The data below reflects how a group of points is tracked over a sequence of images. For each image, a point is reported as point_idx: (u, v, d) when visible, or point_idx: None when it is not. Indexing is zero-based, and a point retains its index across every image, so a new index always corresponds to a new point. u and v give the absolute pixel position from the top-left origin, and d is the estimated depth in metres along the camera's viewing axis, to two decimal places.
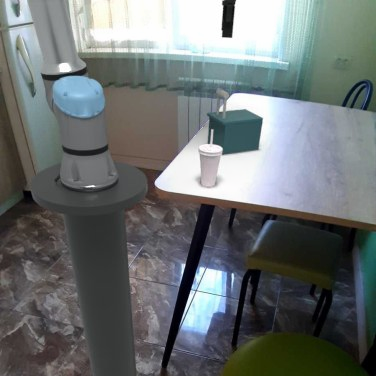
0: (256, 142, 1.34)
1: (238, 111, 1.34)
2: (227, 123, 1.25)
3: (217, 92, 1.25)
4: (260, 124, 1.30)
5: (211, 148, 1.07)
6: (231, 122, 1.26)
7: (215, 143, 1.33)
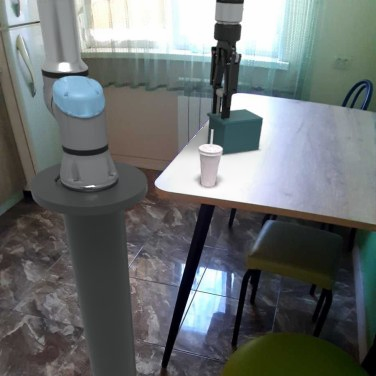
0: (256, 142, 1.34)
1: (238, 111, 1.34)
2: (227, 123, 1.25)
3: (217, 92, 1.25)
4: (260, 124, 1.30)
5: (211, 148, 1.07)
6: (231, 122, 1.26)
7: (215, 143, 1.33)
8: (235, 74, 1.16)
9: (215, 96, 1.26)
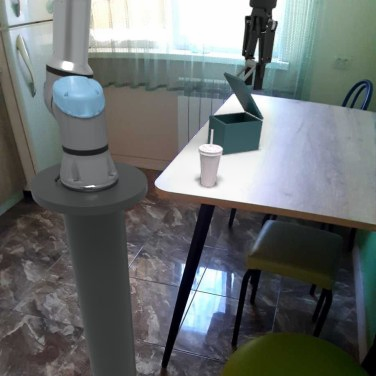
0: (256, 142, 1.34)
1: None
2: (244, 85, 1.20)
3: (248, 60, 1.23)
4: (260, 124, 1.30)
5: (211, 148, 1.07)
6: (246, 88, 1.21)
7: (215, 143, 1.33)
8: (270, 42, 1.15)
9: (247, 67, 1.25)
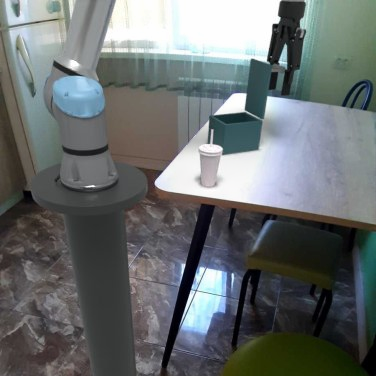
0: (256, 142, 1.34)
1: None
2: (270, 71, 1.21)
3: (276, 64, 1.27)
4: (260, 124, 1.30)
5: (211, 148, 1.07)
6: (269, 77, 1.22)
7: (215, 143, 1.33)
8: (299, 50, 1.19)
9: (272, 72, 1.30)
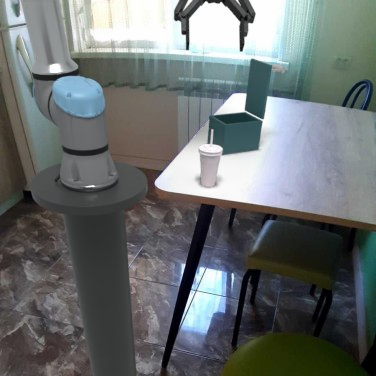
0: (256, 142, 1.34)
1: None
2: (270, 71, 1.21)
3: (276, 64, 1.27)
4: (260, 124, 1.30)
5: (211, 148, 1.07)
6: (269, 77, 1.22)
7: (215, 143, 1.33)
8: None
9: None
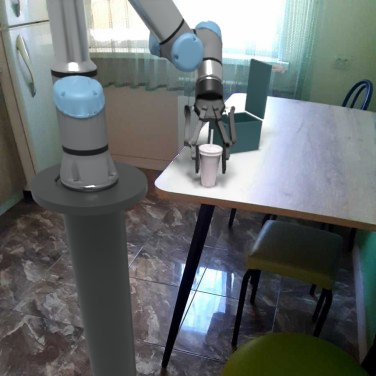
0: (256, 142, 1.34)
1: None
2: (270, 71, 1.21)
3: (276, 64, 1.27)
4: (260, 124, 1.30)
5: (211, 148, 1.07)
6: (269, 77, 1.22)
7: (215, 143, 1.33)
8: None
9: (198, 151, 1.07)
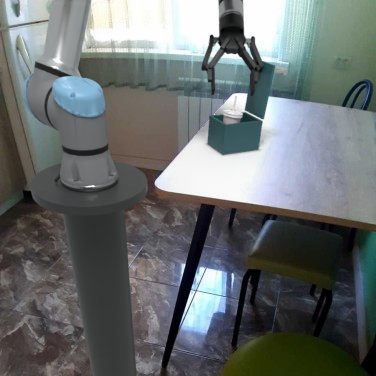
0: (256, 142, 1.34)
1: None
2: (273, 71, 1.21)
3: (278, 66, 1.28)
4: (260, 124, 1.30)
5: (234, 112, 1.29)
6: (272, 77, 1.22)
7: (215, 143, 1.33)
8: None
9: (214, 74, 1.22)
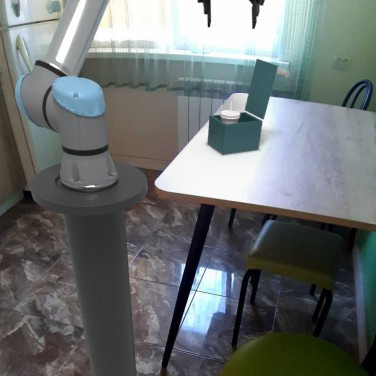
0: (256, 142, 1.34)
1: None
2: (275, 71, 1.21)
3: (280, 68, 1.29)
4: (260, 124, 1.30)
5: (231, 113, 1.28)
6: (274, 77, 1.22)
7: (215, 143, 1.33)
8: None
9: (210, 5, 1.21)
